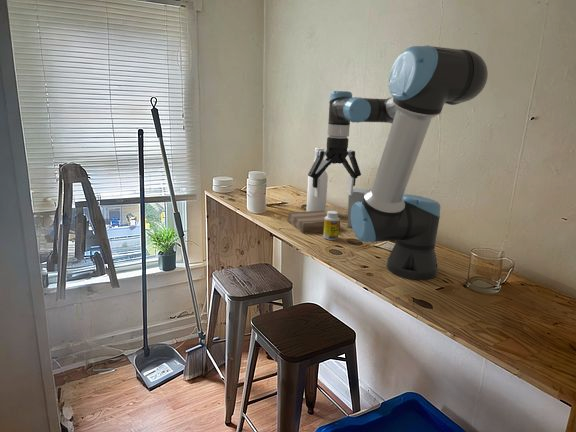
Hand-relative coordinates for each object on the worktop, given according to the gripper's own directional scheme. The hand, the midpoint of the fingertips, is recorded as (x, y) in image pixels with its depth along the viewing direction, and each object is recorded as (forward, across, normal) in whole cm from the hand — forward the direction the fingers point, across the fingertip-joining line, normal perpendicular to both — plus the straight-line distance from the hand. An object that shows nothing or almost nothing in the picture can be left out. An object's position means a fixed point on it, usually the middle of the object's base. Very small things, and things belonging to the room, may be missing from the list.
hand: (333, 195), depth 148 cm
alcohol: (+17, -9, -32) cm, 38 cm away
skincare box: (+17, -18, -10) cm, 26 cm away
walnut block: (+17, 0, -16) cm, 23 cm away
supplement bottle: (+17, 0, 0) cm, 17 cm away
